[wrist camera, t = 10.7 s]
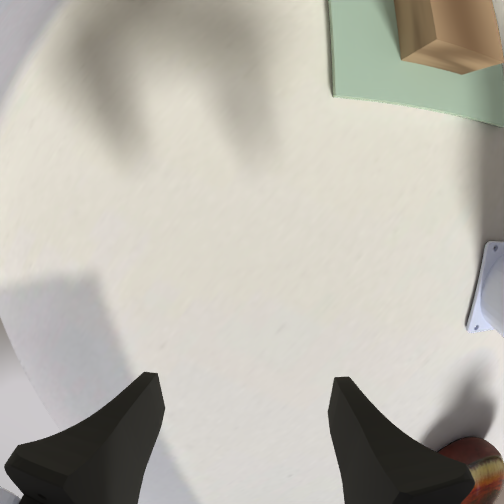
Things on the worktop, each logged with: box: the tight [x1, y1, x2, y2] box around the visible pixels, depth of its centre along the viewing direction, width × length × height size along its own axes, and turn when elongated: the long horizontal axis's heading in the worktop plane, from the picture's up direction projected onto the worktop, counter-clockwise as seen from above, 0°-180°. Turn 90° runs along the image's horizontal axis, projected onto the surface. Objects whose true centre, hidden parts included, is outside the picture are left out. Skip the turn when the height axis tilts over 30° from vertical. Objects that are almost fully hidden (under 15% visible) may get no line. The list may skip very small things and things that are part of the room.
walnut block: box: [394, 0, 504, 75], centre depth 13 cm, size 5×5×5 cm
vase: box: [438, 437, 504, 504], centre depth 21 cm, size 11×11×15 cm
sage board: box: [328, 0, 504, 127], centre depth 16 cm, size 14×11×1 cm
